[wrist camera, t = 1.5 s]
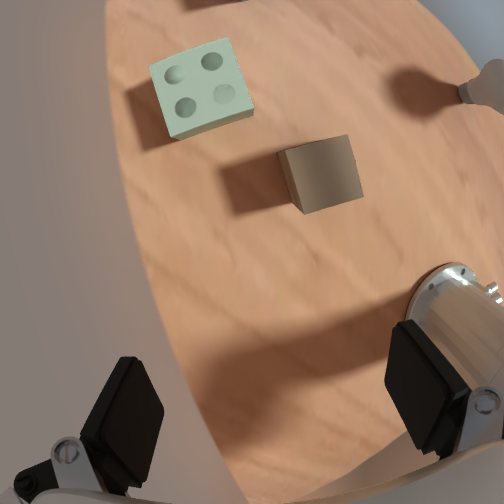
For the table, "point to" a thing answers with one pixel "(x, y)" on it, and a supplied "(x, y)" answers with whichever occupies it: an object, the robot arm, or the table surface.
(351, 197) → the walnut block
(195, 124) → the base brick
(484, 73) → the lightbulb
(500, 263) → the table surface
